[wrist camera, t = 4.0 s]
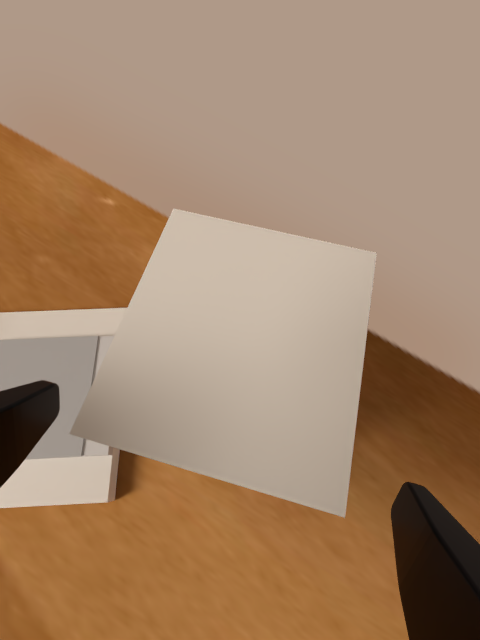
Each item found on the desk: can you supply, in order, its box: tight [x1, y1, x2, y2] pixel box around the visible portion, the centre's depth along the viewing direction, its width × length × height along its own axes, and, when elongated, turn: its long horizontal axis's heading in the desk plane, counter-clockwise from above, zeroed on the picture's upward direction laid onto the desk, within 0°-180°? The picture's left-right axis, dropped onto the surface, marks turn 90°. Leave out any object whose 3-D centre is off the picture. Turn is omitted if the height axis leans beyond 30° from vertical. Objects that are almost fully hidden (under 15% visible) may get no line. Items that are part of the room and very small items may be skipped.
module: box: [69, 209, 376, 518], centre depth 12 cm, size 6×5×12 cm
